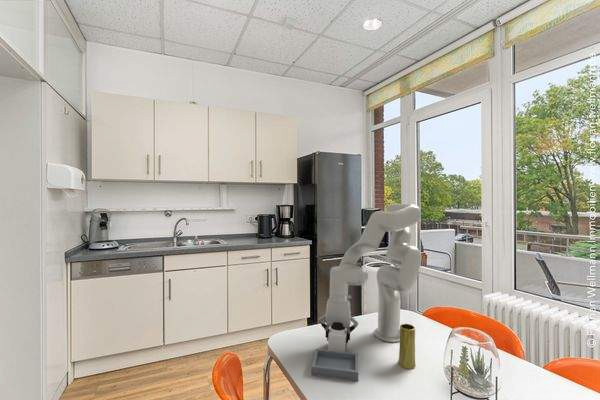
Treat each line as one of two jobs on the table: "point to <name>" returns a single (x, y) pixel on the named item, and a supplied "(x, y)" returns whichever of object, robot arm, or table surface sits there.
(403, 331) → the vase
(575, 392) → the table surface
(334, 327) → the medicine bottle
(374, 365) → the table surface
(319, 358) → the tray
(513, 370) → the table surface
